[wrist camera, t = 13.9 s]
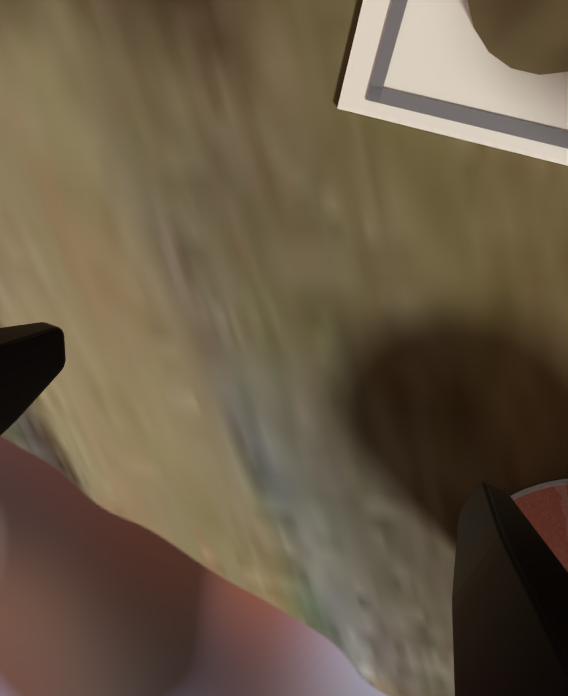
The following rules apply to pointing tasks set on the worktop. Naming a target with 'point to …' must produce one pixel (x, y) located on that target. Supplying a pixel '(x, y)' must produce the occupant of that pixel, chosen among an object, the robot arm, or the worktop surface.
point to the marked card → (451, 80)
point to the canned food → (548, 514)
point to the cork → (524, 33)
